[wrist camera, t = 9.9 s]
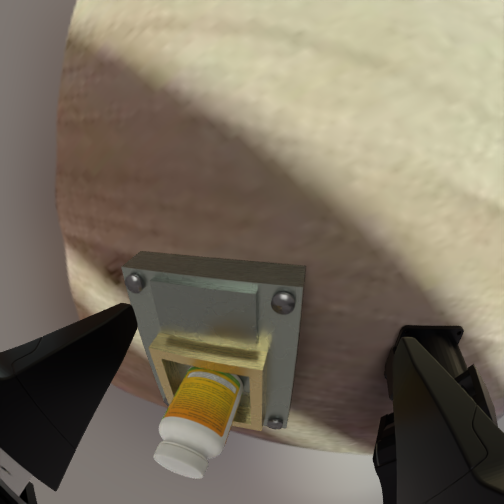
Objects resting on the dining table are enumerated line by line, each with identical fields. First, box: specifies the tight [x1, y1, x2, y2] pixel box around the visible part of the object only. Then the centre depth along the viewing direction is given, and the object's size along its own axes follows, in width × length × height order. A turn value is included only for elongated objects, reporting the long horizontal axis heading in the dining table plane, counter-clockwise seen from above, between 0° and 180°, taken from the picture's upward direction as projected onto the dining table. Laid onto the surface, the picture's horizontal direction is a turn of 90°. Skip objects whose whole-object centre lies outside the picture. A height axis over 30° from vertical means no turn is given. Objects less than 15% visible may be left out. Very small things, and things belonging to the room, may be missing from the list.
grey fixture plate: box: [122, 251, 306, 431], centre depth 24 cm, size 14×18×5 cm
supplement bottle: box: [154, 366, 243, 479], centre depth 20 cm, size 5×5×10 cm
